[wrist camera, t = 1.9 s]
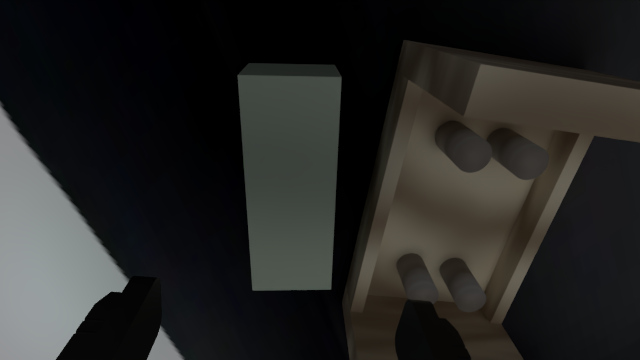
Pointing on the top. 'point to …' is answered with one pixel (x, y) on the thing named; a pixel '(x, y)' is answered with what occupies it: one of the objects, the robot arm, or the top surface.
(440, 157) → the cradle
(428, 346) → the robot arm
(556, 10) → the top surface
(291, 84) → the grey-green rectangular block
